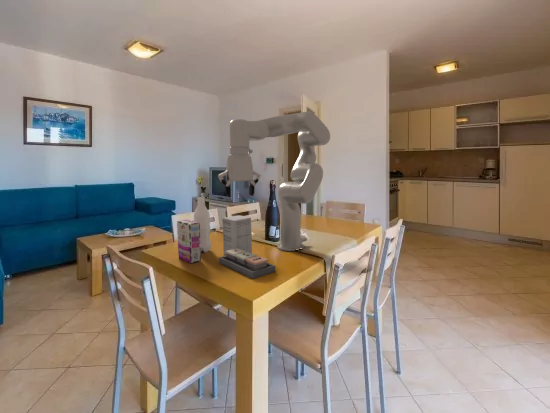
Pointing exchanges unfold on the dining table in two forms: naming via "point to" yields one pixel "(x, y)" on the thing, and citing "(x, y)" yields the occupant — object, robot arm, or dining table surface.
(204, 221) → the water bottle
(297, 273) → the dining table surface
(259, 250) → the dining table surface
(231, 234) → the supplement box
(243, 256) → the tile
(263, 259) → the tile
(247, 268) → the gray rectangular tray
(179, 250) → the candy bar box
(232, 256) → the tile
